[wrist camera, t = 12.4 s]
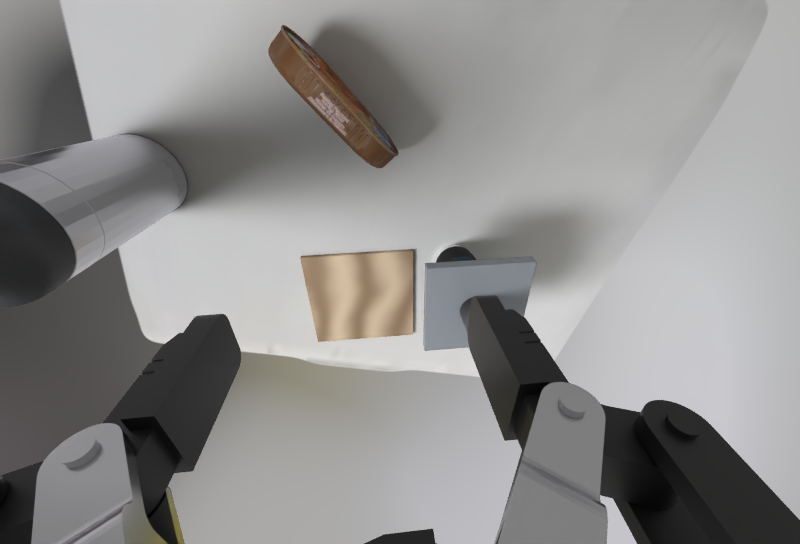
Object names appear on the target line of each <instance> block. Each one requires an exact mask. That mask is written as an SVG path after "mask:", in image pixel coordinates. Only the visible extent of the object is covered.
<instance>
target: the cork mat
mask: <svg viewBox="0 0 800 544" xmlns="http://www.w3.org/2000/svg"><path fill="white" fill-rule="evenodd" d="M300 259H301V263H302V268H303V273H304V277H305V282H306V287H307V291H308V296H309V301H310V306H311V310H312V315H313V320H314V324H315V329H316V334H317V338H318V342H322V341H335V340H347V339H360V338H373V337H386V336H399V335H411V334H413V250H398V251H381V252H365V253H348V254H332V255H315V256H301V258H300Z"/></svg>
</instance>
